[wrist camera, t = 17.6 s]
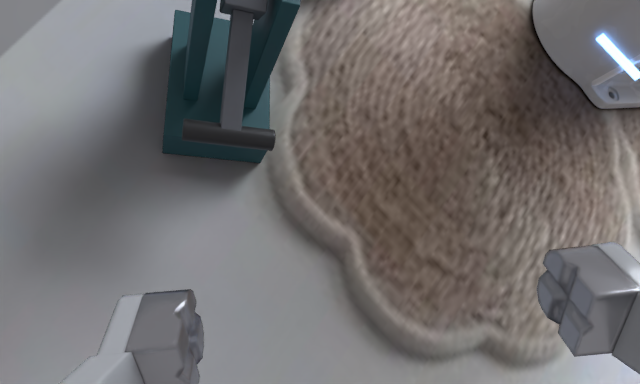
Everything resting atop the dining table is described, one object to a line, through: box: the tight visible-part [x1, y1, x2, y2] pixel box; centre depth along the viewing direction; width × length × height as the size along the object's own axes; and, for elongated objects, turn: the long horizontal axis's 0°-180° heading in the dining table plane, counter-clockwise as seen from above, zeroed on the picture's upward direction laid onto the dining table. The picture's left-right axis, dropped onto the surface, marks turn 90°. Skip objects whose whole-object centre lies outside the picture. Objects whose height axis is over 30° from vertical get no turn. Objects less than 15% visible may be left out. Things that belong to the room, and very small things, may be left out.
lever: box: [182, 0, 275, 151], centre depth 25 cm, size 10×5×2 cm, turn 3°
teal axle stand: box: [162, 0, 301, 163], centre depth 29 cm, size 10×7×14 cm
